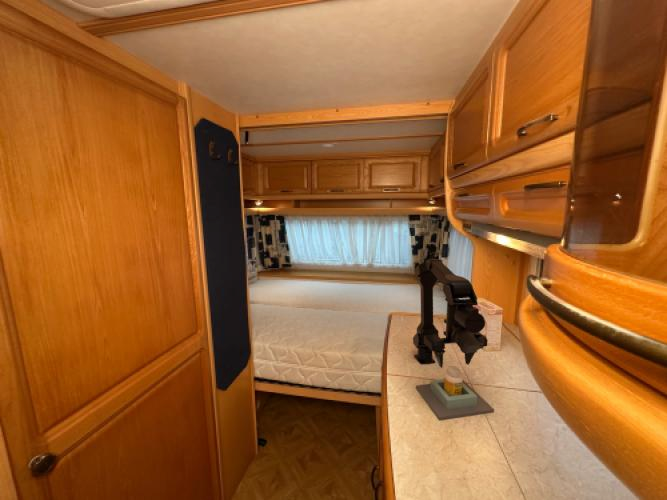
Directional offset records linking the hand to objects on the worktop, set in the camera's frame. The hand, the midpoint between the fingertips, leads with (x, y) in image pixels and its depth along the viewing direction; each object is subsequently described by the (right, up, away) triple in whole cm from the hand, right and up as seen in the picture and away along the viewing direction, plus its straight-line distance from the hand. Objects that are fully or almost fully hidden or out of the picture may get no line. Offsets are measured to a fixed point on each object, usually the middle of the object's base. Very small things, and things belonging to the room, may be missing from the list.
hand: (454, 365), depth 87 cm
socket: (0, -12, +2) cm, 12 cm away
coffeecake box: (+30, -6, +39) cm, 50 cm away
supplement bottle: (0, -11, +2) cm, 11 cm away
